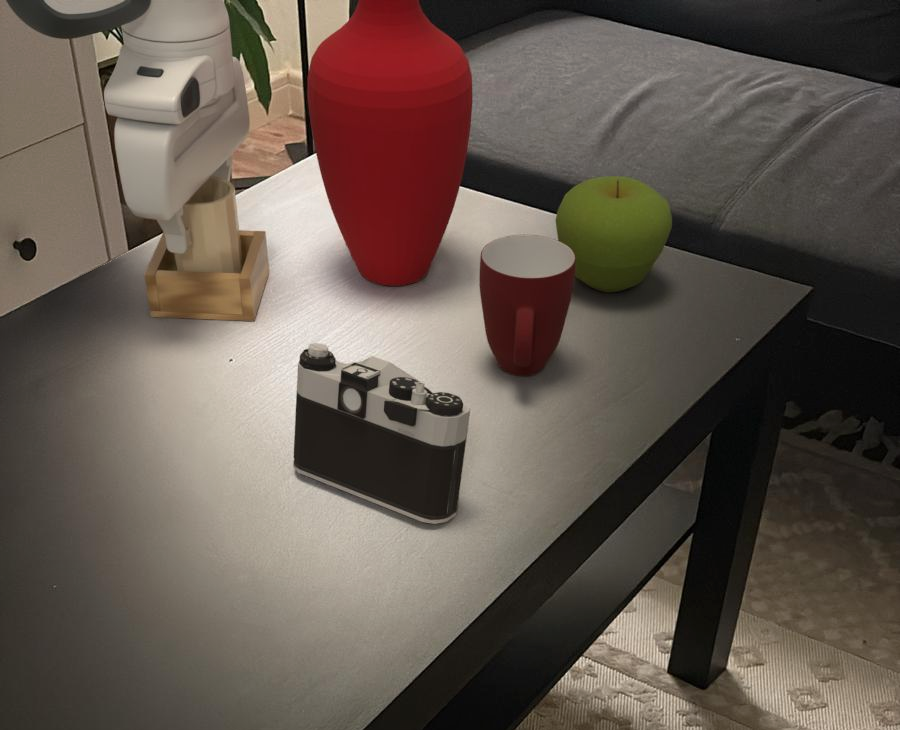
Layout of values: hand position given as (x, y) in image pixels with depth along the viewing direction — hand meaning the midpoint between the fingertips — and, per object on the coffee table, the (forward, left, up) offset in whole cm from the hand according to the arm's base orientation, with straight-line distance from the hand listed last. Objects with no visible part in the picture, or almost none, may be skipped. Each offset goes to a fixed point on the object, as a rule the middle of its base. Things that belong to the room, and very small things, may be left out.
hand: (199, 227), depth 118 cm
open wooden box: (0, 0, -6) cm, 6 cm away
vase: (+17, +6, -7) cm, 19 cm away
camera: (+20, -28, -7) cm, 35 cm away
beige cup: (0, 0, -6) cm, 6 cm away
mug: (+30, -12, -7) cm, 33 cm away
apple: (+38, +5, -7) cm, 39 cm away
